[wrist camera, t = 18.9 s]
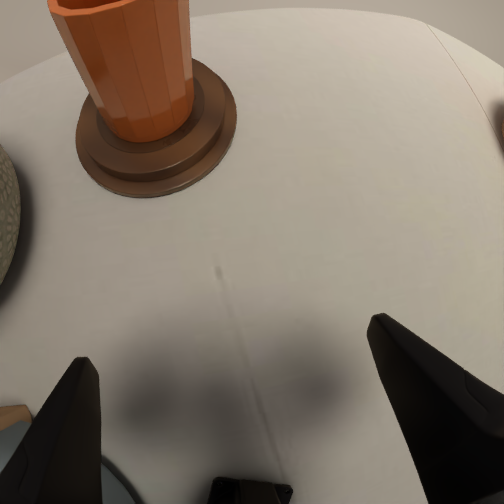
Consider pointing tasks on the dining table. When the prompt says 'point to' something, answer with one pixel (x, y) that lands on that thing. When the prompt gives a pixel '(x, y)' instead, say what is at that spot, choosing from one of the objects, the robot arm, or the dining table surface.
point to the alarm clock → (13, 430)
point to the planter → (8, 212)
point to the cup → (132, 61)
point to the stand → (161, 144)
